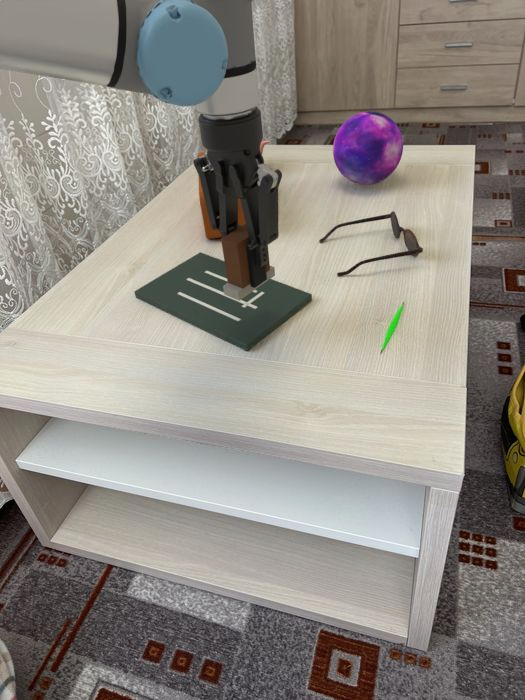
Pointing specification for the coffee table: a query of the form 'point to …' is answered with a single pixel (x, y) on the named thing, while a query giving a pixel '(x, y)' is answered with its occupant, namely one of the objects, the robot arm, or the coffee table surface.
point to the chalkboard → (222, 301)
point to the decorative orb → (368, 148)
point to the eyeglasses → (408, 235)
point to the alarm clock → (208, 230)
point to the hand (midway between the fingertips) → (249, 278)
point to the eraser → (239, 264)
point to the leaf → (392, 326)
